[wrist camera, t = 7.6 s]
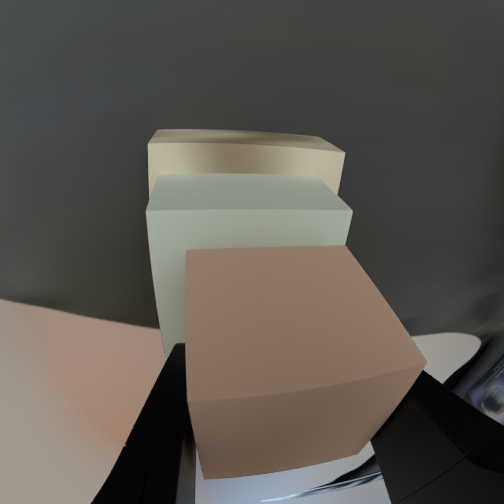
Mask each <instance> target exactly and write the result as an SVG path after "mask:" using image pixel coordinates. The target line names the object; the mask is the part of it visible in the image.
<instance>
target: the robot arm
mask: <svg viewBox="0 0 504 504" xmlns="http://www.w3.org/2000/svg"><path fill="white" fill-rule="evenodd" d="M370 441H371V444H372V446H373V449H374V452H375V455H376V458H377V461H378V464H379V467H380V470H381V473H382V476H383V479H384V482H385V485H386V488H387V491H388V494H389V498H390V501H391V504H504V425H503V424H501V423H499V422H498V421H496V420H494V419H493V418H491V417H489V416H488V415H486V414H484V413H483V412H481V411H479V410H478V409H476V408H475V407H473V406H472V405H470V404H469V403H467V402H466V401H465V400H463V399H462V398H460V397H459V396H458V395H456V394H455V393H454V392H452V391H450V389H448V388H447V387H445V386H444V385H443V384H441V383H440V382H439V381H437V380H436V379H435V378H433V377H432V376H431V375H429V374H428V373H427V372H425V371H424V370H422V371H421V373H420V374H419V376H418V377H417V379H416V380H415V382H414V383H413V385H412V386H411V388H410V389H409V390H408V392H407V393H406V395H405V396H404V397H403V399H402V400H401V402H400V403H399V404H398V406H397V407H396V408H395V410H394V411H393V412H392V413H391V415H390V416H389V417H388V419H387V420H386V421H385V422H384V424H383V425H382V426H381V427H380V429H379V430H378V431H377V432H376V433H375V435H374V436H373V437H372V438H371V439H370ZM125 445H126V446H124V447H123V449H122V451H121V453H120V455H119V457H118V459H117V461H116V463H115V465H114V467H113V469H112V470H111V472H110V474H109V476H108V478H107V479H106V481H105V482H104V484H103V486H102V487H101V489H100V490H99V492H98V494H97V495H96V496H95V498H94V499H93V501H92V502H91V504H195V477H196V442H195V437H194V432H193V427H192V422H191V417H190V412H189V407H188V402H187V381H186V349H185V343H176V344H175V345H174V347H173V349H172V351H171V353H170V355H169V357H168V359H167V361H166V363H165V364H164V366H163V368H162V370H161V372H160V374H159V376H158V378H157V381H156V382H155V384H154V386H153V388H152V390H151V392H150V394H149V396H148V398H147V400H146V402H145V405H144V407H143V408H142V410H141V412H140V414H139V416H138V418H137V420H136V423H135V424H134V426H133V429H132V431H131V433H130V435H129V437H128V439H127V441H126V443H125Z"/></svg>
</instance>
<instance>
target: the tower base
mask: <svg viewBox="0 0 504 504" xmlns="http://www.w3.org/2000/svg"><path fill="white" fill-rule="evenodd" d="M344 157H345V152H343V151H342V150H340V149H338V148H337V147H335V146H334V145H332V144H330V143H329V142H327V141H325V140H323V139H322V138H320V137H314V136H305V135H295V134H284V133H271V132H256V131H238V130H204V129H169V130H157V131H156V133H155V134H154V136H153V137H152V138H151V140H150V141H149V143H148V174H149V200H150V197H151V194H152V191H153V188H154V185H155V182H156V180H157V177H158V174H203V173H231V174H278V175H302V176H317V177H319V178H320V179H321V180H322V181H323V182H324V183H325V184H326V185H327V186H328V187H329V188H330V189H331V190H332V191H333V192H334V193H335V194H336V195H337V194H338V189H339V184H340V179H341V173H342V168H343V163H344Z"/></svg>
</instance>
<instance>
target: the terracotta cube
mask: <svg viewBox="0 0 504 504" xmlns="http://www.w3.org/2000/svg"><path fill="white" fill-rule="evenodd" d="M185 349H186V381H187V402H188V407H189V412H190V417H191V422H192V427H193V432H194V437H195V442H196V447H197V451H198V456H199V460H200V464H201V469H202V473H203V477H204V479H221V478H233V477H242V476H251V475H260V474H267V473H274V472H279V471H286V470H291V469H297V468H302V467H307V466H311V465H316V464H320V463H325V462H329V461H333V460H337V459H341V458H345V457H348V456H352V455H356V454H358V453H359V452H360V451H361V450H362V448H363V447H364V446H365V445H366V444H367V443H368V442H369V441H370V439H371V438H372V437H373V436H374V435H375V433H376V432H377V431H378V430H379V429H380V427H381V426H382V425H383V424H384V422H385V421H386V420H387V419H388V417H389V416H390V415H391V413H392V412H393V411H394V410H395V408H396V407H397V406H398V404H399V403H400V402H401V400H402V399H403V397H404V396H405V395H406V393H407V392H408V390H409V389H410V388H411V386H412V385H413V383H414V382H415V380H416V379H417V377H418V376H419V374H420V373H421V371H422V370H423V368H424V366H425V365H426V364H427V362H426V360H425V358H424V357H423V355H422V354H421V352H420V350H419V349H418V347H417V346H416V344H415V343H414V341H413V340H412V338H411V337H410V335H409V334H408V332H407V331H406V329H405V328H404V326H403V325H402V323H401V322H400V320H399V319H398V317H397V316H396V315H395V313H394V312H393V310H392V309H391V307H390V306H389V304H388V303H387V302H386V300H385V299H384V297H383V296H382V295H381V293H380V292H379V290H378V289H377V288H376V286H375V285H374V283H373V282H372V281H371V279H370V278H369V277H368V275H367V274H366V272H365V271H364V270H363V268H362V267H361V266H360V264H359V263H358V262H357V260H356V259H355V258H354V256H353V255H352V254H351V252H350V251H349V250H348V248H347V247H346V246H345V245H330V246H294V247H258V248H224V249H192V250H186V258H185Z"/></svg>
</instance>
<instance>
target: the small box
mask: <svg viewBox="0 0 504 504" xmlns="http://www.w3.org/2000/svg"><path fill="white" fill-rule="evenodd" d="M467 394H468V396H469V397H470V399H471V401H472V402H473V404H474V406H475V407H476V409H478V410H479V411H481V412H483V413H484V414H486V415H488V416H489V417H491V418H493V419H494V420H496V421H498V422H499V423H501V424H503V425H504V356H503V357H502V358H501V359H500V360H499V361H498V362H497V363H496V364H495V365H494V366H493V367H492V368H491V369H490V370H489V371H488V372H487V373H486V374H485V375H484V376H483V377H482V378H481V379H480V380H479V381H478V382H477V383H476V384H475V385H474V386H473V387H472V388H471V389H470V390H469V391H467Z"/></svg>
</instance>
